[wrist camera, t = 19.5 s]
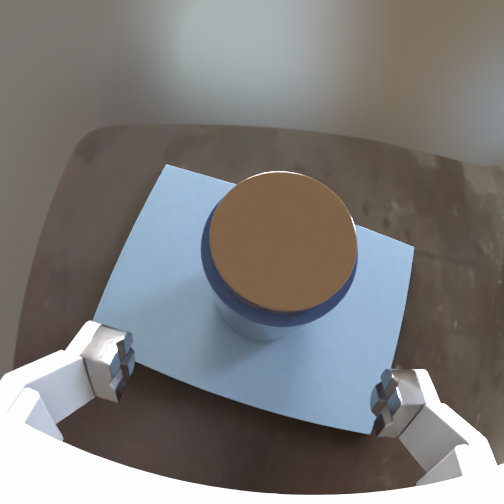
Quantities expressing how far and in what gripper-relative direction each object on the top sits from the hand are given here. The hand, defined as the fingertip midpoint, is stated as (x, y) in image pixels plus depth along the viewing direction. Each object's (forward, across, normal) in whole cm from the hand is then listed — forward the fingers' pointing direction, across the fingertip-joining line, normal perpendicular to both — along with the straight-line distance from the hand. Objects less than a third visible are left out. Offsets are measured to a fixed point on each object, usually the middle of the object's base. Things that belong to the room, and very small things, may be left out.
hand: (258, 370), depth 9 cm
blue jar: (+10, 0, +4) cm, 11 cm away
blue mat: (+11, 0, +4) cm, 11 cm away
